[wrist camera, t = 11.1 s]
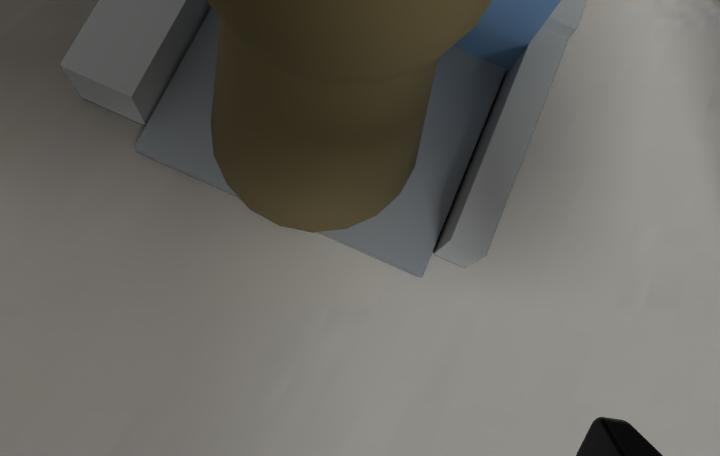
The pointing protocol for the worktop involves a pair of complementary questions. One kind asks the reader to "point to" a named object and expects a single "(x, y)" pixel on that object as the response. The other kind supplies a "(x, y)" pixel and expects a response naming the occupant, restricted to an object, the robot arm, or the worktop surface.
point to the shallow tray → (439, 136)
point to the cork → (326, 101)
